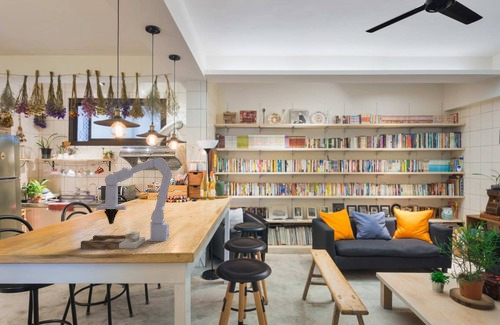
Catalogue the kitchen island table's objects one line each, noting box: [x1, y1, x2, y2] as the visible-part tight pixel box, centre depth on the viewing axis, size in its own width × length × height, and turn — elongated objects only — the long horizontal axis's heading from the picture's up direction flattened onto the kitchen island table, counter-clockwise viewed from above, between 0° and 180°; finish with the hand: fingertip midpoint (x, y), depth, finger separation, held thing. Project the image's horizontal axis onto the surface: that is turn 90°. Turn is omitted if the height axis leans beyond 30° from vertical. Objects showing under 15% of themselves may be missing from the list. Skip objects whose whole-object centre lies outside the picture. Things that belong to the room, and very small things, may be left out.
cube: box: [125, 231, 140, 242], centre depth 141 cm, size 5×5×4 cm
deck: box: [80, 234, 146, 249], centre depth 141 cm, size 26×13×3 cm, turn 91°
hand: (111, 223), depth 146 cm, fingers closed
